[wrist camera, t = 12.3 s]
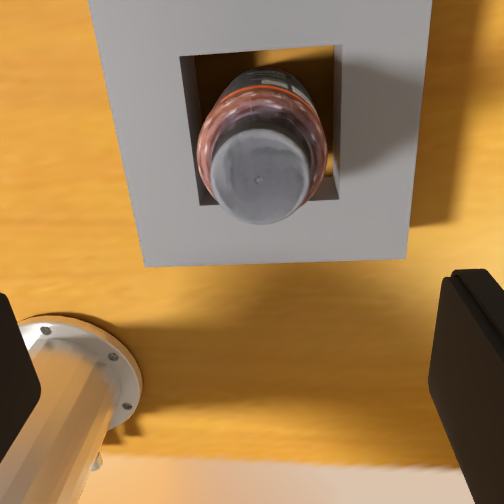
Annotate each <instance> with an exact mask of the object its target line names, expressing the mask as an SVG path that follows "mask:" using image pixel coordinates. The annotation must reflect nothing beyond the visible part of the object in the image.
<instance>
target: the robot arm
mask: <svg viewBox="0 0 504 504" xmlns="http://www.w3.org/2000/svg"><path fill="white" fill-rule="evenodd" d="M428 384H429V390H430V394H431V397H432V399H433V401H434V404H435V406H436V409H437V411H438V414H439V416H440V419H441V421H442V423H443V426H444V428H445V431H446V433H447V436H448V438H449V441H450V443H451V446H452V448H453V450H454V453H455V455H456V458H457V460H458V463H459V465H460V468H461V470H462V473H463V475H464V477H465V480H466V482H467V485H468V487H469V490H470V492H471V495H472V497H473V499H474V502H475V504H504V290H503V289H502V288H501V287H500V285H499V284H498V283H497V282H496V281H495V279H494V278H493V277H492V276H491V275H490V273H489V272H488V271H487V270H486V269H461V270H454V271H453V272H452V274H451V277H445V278H443V281H442V285H441V292H440V299H439V306H438V313H437V320H436V327H435V334H434V341H433V348H432V355H431V362H430V369H429V376H428ZM141 393H142V376H141V372H140V369H139V367H138V365H137V363H136V361H135V359H134V357H133V356H132V355H131V353H130V352H129V351H128V350H127V348H126V347H125V346H124V345H123V344H121V343H120V342H119V341H118V340H117V339H116V338H115V337H113V336H112V335H110V334H109V333H107V332H106V331H104V330H103V329H101V328H98V327H96V326H94V325H92V324H90V323H87V322H84V321H81V320H78V319H75V318H70V317H64V316H38V317H31V318H28V319H25V320H23V321H20V322H18V323H17V321H16V318H15V316H14V313H13V310H12V308H11V305H10V303H9V300H8V298H7V296H6V295H5V294H3V293H0V504H77V503H78V500H79V498H80V496H81V493H82V491H83V488H84V486H85V484H86V481H87V478H88V476H89V474H90V472H91V471H95V470H97V469H99V468H100V467H101V466H102V462H103V461H102V458H101V455H100V452H99V450H100V447H101V445H102V443H103V440H104V438H105V435H106V433H107V430H111V429H113V428H115V427H117V426H119V425H121V424H122V423H124V422H125V421H126V420H128V419H129V418H130V417H131V415H132V414H133V413H134V411H135V410H136V407H137V405H138V403H139V400H140V397H141Z"/></svg>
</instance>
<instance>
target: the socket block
mask: <svg viewBox="0 0 504 504" xmlns="http://www.w3.org/2000/svg"><path fill="white" fill-rule="evenodd" d="M88 3H89V8H90V13H91V17H92V22H93V27H94V31H95V36H96V41H97V45H98V50H99V55H100V59H101V64H102V69H103V73H104V78H105V83H106V87H107V92H108V97H109V101H110V106H111V111H112V115H113V120H114V125H115V129H116V134H117V139H118V143H119V148H120V153H121V157H122V162H123V167H124V171H125V176H126V181H127V185H128V190H129V195H130V199H131V204H132V209H133V213H134V218H135V223H136V227H137V232H138V237H139V241H140V246H141V251H142V255H143V260H144V265H145V267H173V266H204V265H235V264H266V263H298V262H329V261H360V260H391V259H406V252H407V242H408V233H409V223H410V213H411V203H412V194H413V184H414V174H415V164H416V155H417V145H418V135H419V125H420V116H421V106H422V96H423V87H424V77H425V67H426V57H427V48H428V38H429V28H430V18H431V9H432V0H88ZM326 45H334V110H333V176H325V177H323V179H322V181H321V183H320V185H319V187H318V188H317V190H316V192H315V193H314V195H313V196H312V197H311V198H310V199H309V200H308V201H307V202H306V203H305V204H304V205H303V206H301V207H300V208H299V209H297V210H296V211H295V212H294V213H293V214H292V215H290V216H289V217H287V218H285V219H283V220H281V221H279V222H276V223H272V224H266V225H255V224H249V223H245V222H242V221H239V220H237V219H235V218H234V217H232V216H231V215H230V214H228V213H227V212H226V211H225V210H224V209H223V208H222V207H221V206H220V205H219V203H218V201H217V200H216V199H215V198H214V197H213V196H212V195H211V193H210V192H209V191H208V189H207V188H206V186H205V184H204V182H203V180H202V178H201V176H200V173H199V169H198V164H197V144H198V138H199V134H200V131H201V128H202V126H203V125H202V117H201V109H200V101H199V92H198V84H197V76H196V68H195V60H194V55H204V54H218V53H231V52H245V51H259V50H272V49H286V48H299V47H313V46H326Z"/></svg>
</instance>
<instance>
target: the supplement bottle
mask: <svg viewBox="0 0 504 504" xmlns="http://www.w3.org/2000/svg"><path fill="white" fill-rule="evenodd" d="M327 157H328V156H327V141H326V137H325V134H324V131H323V128H322V125H321V122H320V120H319V117H318V114H317V112H316V109H315V106H314V104H313V101H312V99H311V96H310V94H309V93H308V91H307V89H306V88H305V87H304V85H303V84H302V83H301V82H300V81H299V80H298V79H297V78H295V77H294V76H293V75H292V74H290V73H288V72H286V71H284V70H281V69H278V68H273V67H259V68H254V69H250V70H248V71H245V72H243V73H242V74H240V75H238V76H237V77H236V78H235V79H233V80H232V81H231V82H230V83H229V84H228V86H227V87H226V88H225V90H224V91H223V92H222V93H221V95H220V97H219V98H218V100H217V102H216V103H215V105H214V107H213V108H212V110H211V111H210V113H209V115H208V116H207V118H206V120H205V122H204V124H203V126H202V128H201V131H200V134H199V138H198V144H197V164H198V169H199V173H200V176H201V178H202V180H203V182H204V184H205V186H206V188H207V189H208V191H209V192H210V193H211V195H212V196H213V197H214V198H215V199H216V200H217V201H218V203H219V205H220V206H221V207H222V208H223V209H224V210H225V211H226V212H227V213H228V214H230V215H231V216H232V217H234V218H235V219H237V220H239V221H242V222H245V223H249V224H255V225H266V224H272V223H276V222H279V221H281V220H283V219H285V218H287V217H289V216H290V215H292V214H293V213H294V212H295V211H296V210H297V209H299V208H300V207H301V206H303V205H304V204H305V203H306V202H307V201H308V200H309V199H310V198H311V197H312V196H313V195H314V193H315V192H316V190H317V188H318V187H319V185H320V183H321V181H322V179H323V176H324V173H325V169H326V165H327Z"/></svg>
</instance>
